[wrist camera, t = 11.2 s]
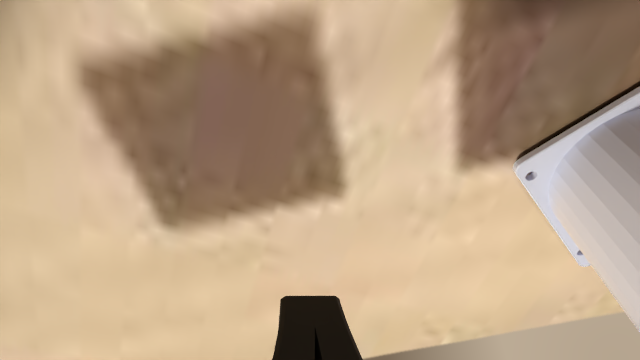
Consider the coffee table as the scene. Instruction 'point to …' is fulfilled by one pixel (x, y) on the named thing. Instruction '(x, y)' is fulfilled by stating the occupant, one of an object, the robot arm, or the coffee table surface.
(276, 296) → the coffee table surface
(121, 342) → the coffee table surface
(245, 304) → the coffee table surface
